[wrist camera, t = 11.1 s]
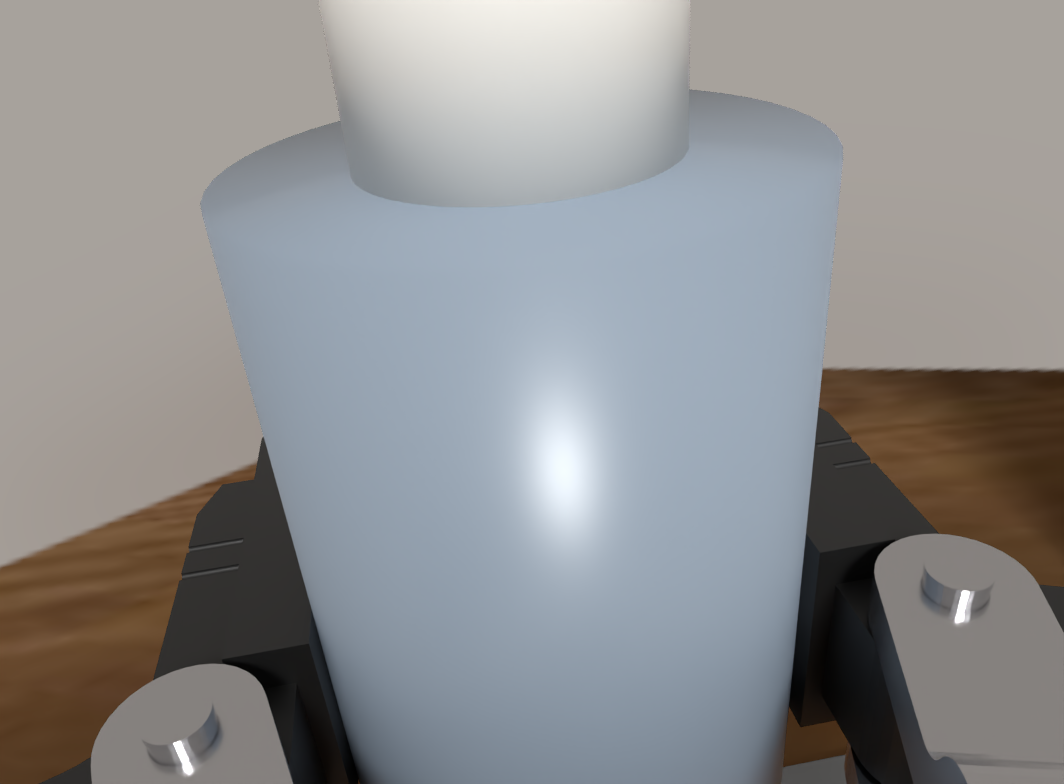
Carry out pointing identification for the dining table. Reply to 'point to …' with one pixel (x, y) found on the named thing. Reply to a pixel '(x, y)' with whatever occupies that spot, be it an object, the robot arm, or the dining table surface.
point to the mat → (816, 772)
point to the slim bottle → (540, 389)
